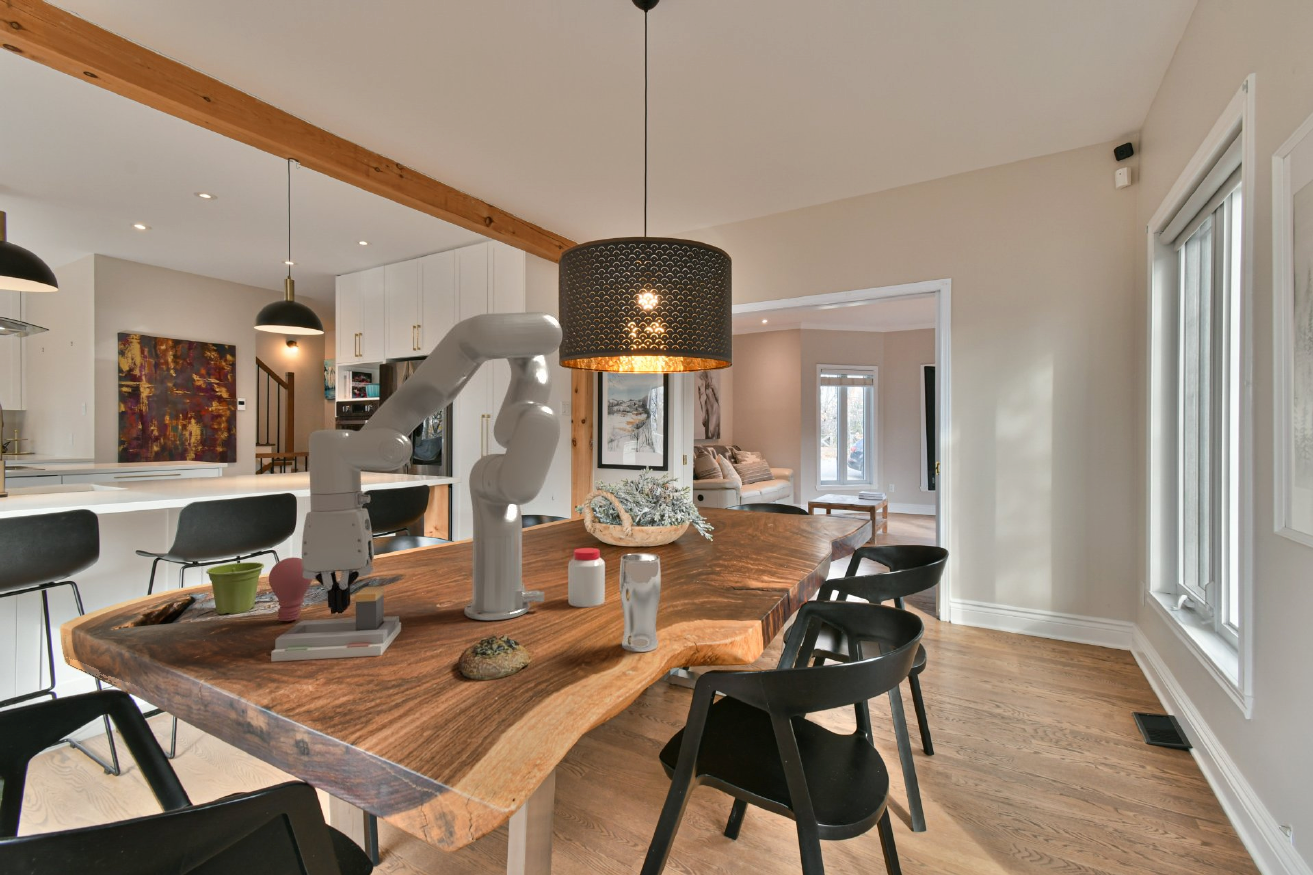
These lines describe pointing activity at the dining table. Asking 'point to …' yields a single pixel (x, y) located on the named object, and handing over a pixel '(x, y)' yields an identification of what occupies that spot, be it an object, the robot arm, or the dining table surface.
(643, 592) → the beer glass
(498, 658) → the bread roll
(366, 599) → the breaker handle
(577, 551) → the pill bottle
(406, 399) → the robot arm
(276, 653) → the switch panel
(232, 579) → the plant pot
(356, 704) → the dining table surface
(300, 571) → the light bulb
